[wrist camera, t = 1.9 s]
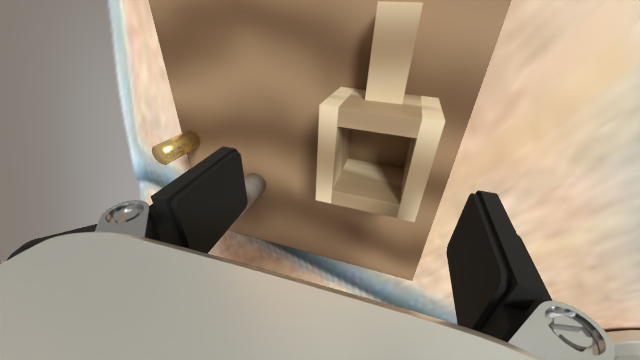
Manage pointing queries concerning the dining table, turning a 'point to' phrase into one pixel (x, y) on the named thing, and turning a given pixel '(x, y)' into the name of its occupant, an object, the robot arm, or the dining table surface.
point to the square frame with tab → (380, 125)
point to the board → (303, 108)
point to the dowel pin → (176, 147)
